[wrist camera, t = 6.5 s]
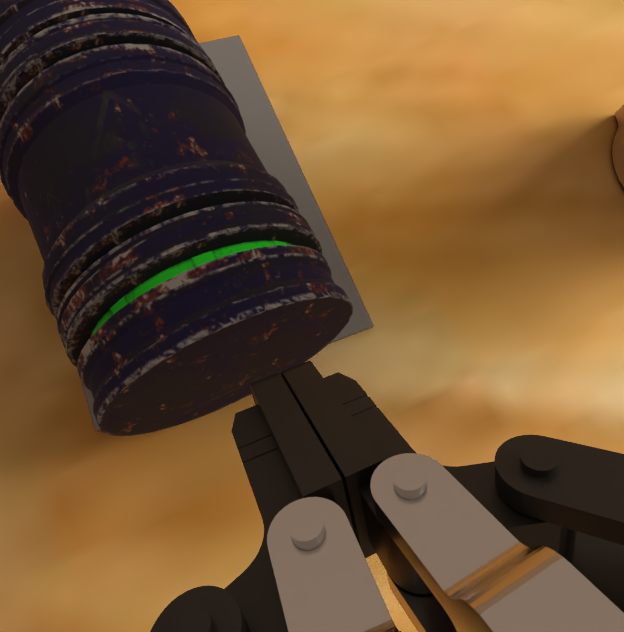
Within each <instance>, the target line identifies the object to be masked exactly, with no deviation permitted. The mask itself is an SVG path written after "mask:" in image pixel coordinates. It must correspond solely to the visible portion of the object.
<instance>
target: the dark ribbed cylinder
mask: <svg viewBox="0 0 624 632" xmlns="http://www.w3.org/2000/svg"><path fill="white" fill-rule="evenodd" d="M0 177H1V181H2V183H3V185H4V187H5V189H6V191H7V193H8V195H9V196H10V198H11V199H12V200H13V202H14V204H15V206H16V207H17V209H18V210H19V211H20V212H21V213H22V215H23V216H24V217H25V218H26V219H27V220H28V221H29V223H30V226H31V228H32V231H33V234H34V236H35V239H36V242H37V244H38V247H39V249H40V252H41V255H42V257H43V260H44V262H45V263H44V269H43V275H42V277H43V284H44V289H45V297H46V304H47V306H48V308H49V310H50V311H51V313H52V315H54V316H55V317H56V319H57V327H58V331H59V334H60V336H61V340H62V342H63V345H64V347H65V349H66V353H67V356H68V357H69V359H70V361H71V362H72V364H74V365H75V366H76V367H78V373H79V376H80V378H81V381H82V382H83V384H84V386H85V387H86V388H87V389H89V390H90V391H91V393H92V395H93V398H94V401H93V413H94V415H95V418H96V421H97V423H98V426H99V428H100V429H101V431H102V432H104V433H106V434H108V435H114V436H131V435H139V434H145V433H149V432H154V431H158V430H162V429H166V428H169V427H173V426H176V425H179V424H182V423H185V422H188V421H191V420H193V419H196V418H199V417H201V416H204V415H206V414H209V413H211V412H214V411H216V410H218V409H221V408H223V407H225V406H227V405H230V404H232V403H234V402H236V401H238V400H240V399H242V398H244V397H246V396H248V395H250V394H252V392H251V389H250V384H251V383H254V382H256V381H259V380H261V379H264V378H267V377H269V376H272V375H274V374H277V373H280V375H281V372H282V371H284V370H287V369H289V368H292V367H295V366H297V365H300V364H302V363H304V362H306V361H307V360H308V359H310V358H311V357H313V356H314V355H315V354H317V353H318V352H319V351H320V350H322V349H323V348H324V347H325V346H327V345H328V344H329V343H330V342H331V341H332V340H333V339H334V338H335V337H336V336H337V335H338V334H339V333H340V332H341V331H342V330H343V329H344V327H345V326H346V325H347V323H348V322H349V320H350V318H351V316H352V314H353V306H352V303H351V301H350V300H349V298H348V296H347V295H346V293H345V291H344V290H343V289H342V288H340V287H339V286H338V285H336V284H335V283H334V281H333V279H332V278H331V269H330V266H329V264H328V262H327V261H326V259H325V257H324V256H323V255H322V248H321V245H320V243H319V241H318V239H317V238H316V236H315V234H314V232H313V231H312V229H311V227H310V226H309V224H308V222H307V221H306V219H305V218H304V217H303V216H302V215H301V214H300V213H299V211H298V207H297V205H296V203H295V201H294V199H293V198H292V197H291V196H290V195H289V194H288V192H287V191H286V189H285V187H284V186H283V185H282V184H281V183H280V182H279V180H278V179H277V178H275V177H274V176H272V175H270V174H269V173H268V172H267V171H266V169H265V167H264V166H263V164H262V162H261V160H260V159H259V157H258V155H257V154H256V152H255V150H254V148H253V147H252V145H251V143H250V142H249V140H248V138H247V136H246V130H245V126H244V122H243V118H242V116H241V114H240V111H239V107H238V105H237V103H236V101H235V99H234V97H233V95H232V93H231V92H230V91H229V90H228V89H227V87H226V86H225V84H224V82H223V80H222V78H221V76H220V74H219V73H218V71H217V69H216V67H215V66H214V64H213V62H212V60H211V59H210V58H209V56H208V55H207V54H206V52H205V51H204V50H203V49H202V47H201V46H200V45H199V43H198V42H197V41H196V39H195V37H194V36H193V34H192V32H191V30H190V28H189V26H188V25H187V23H186V21H185V20H184V18H183V17H182V16H181V14H180V13H179V12H178V10H177V9H176V8H175V7H174V5H173V4H171V3H170V2H169V1H168V0H0Z"/></svg>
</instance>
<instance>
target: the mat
mask: <svg viewBox="0 0 624 632" xmlns="http://www.w3.org/2000/svg"><path fill="white" fill-rule="evenodd" d="M199 45H200V46H201V47H202V49H203V50H204V51H205V52H206V54H207V55H208V56H209V58H210V59H211V60H212V62H213V64H214V66H215V67H216V69H217V71H218V73H219V74H220V76H221V78H222V80H223V82H224V84H225V86H226V87H227V89H228V90H229V91H230V92H231V93H232V95H233V97H234V99H235V101H236V103H237V105H238V107H239V111H240V114H241V116H242V118H243V122H244V126H245V130H246V136H247V138H248V140H249V142H250V143H251V145H252V147H253V148H254V150H255V152H256V154H257V155H258V157H259V159H260V160H261V162H262V164H263V166H264V167H265V169H266V171H267V172H268V173H269V174H270V175H272V176H274V177H275V178H277V179H278V180H279V182H280V183H281V184H282V185H283V186H284V187H285V189H286V191H287V192H288V194H289V195H290V196H291V197H292V198H293V199H294V201H295V203H296V205H297V207H298V211H299V213H300V214H301V215H302V216H303V217H304V218H305V219H306V221H307V222H308V224H309V226H310V227H311V229H312V231H313V232H314V234H315V236H316V238H317V239H318V241H319V243H320V245H321V248H322V255H323V256H324V257H325V259H326V261H327V262H328V264H329V266H330V269H331V278H332V279H333V281H334V283H335V284H336V285H338V286H339V287H340V288H342V289H343V290H344V291H345V293H346V295H347V296H348V298H349V300H350V301H351V303H352V306H353V314H352V316H351V318H350V320H349V322H348V323H347V325H346V326H345V327H344V329H343V330H342V331H341V332H340V333H339V334H338V335H337V336H336V337H335V338H334V339H333V340H332V341H331V342H330V343H332V342H335V341H337V340H340V339H343V338H345V337H348V336H350V335H353V334H356V333H358V332H361V331H364V330H366V329H369V328H372V327H373V326H374V325H373V323H372V321H371V319H370V317H369V314H368V312H367V310H366V308H365V306H364V304H363V302H362V299H361V297H360V295H359V293H358V291H357V289H356V286H355V284H354V282H353V280H352V278H351V276H350V273H349V271H348V269H347V267H346V265H345V263H344V261H343V258H342V256H341V254H340V252H339V250H338V248H337V245H336V243H335V241H334V239H333V237H332V235H331V233H330V230H329V228H328V226H327V224H326V222H325V220H324V217H323V215H322V213H321V211H320V209H319V207H318V204H317V202H316V200H315V198H314V196H313V194H312V192H311V189H310V187H309V185H308V183H307V181H306V179H305V176H304V174H303V172H302V170H301V168H300V166H299V164H298V161H297V159H296V157H295V155H294V153H293V151H292V148H291V146H290V144H289V142H288V140H287V138H286V135H285V133H284V131H283V129H282V127H281V125H280V123H279V120H278V118H277V116H276V114H275V112H274V110H273V107H272V105H271V103H270V101H269V99H268V97H267V95H266V92H265V90H264V88H263V86H262V84H261V82H260V79H259V77H258V75H257V73H256V71H255V69H254V66H253V64H252V62H251V60H250V58H249V56H248V54H247V51H246V49H245V47H244V45H243V43H242V41H241V38H240V36H239V35H238V36H233V37H228V38H223V39H218V40H214V41H209V42H204V43H199ZM77 368H78V367H77ZM81 382H82V381H81ZM82 385H83V389H84V392H85V396H86V399H87V403H88V406H89V410H90V413H91V417H92V420H93V424H94V427H95V431H100V430H101V429H100V428H99V426H98V423H97V421H96V418H95V415H94V413H93V401H94V398H93V395H92V393H91V391H90V390H89V389H87V388H86V387H85V386H84V384H83V382H82Z"/></svg>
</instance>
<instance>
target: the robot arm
mask: <svg viewBox="0 0 624 632" xmlns="http://www.w3.org/2000/svg"><path fill="white" fill-rule="evenodd" d="M615 116H616V119H617V121H618V130H617V133H616V135H615V138H614V140H613V148H612V156H613V164H614V168H615V170H616V173H617V176H618V178H619V180H620V182H621V184H622V185H623V187H624V105H623V106H622V107H621V108H620V109H619V110H618V111H617V112H616V113H615ZM250 389H251V392H252V395H253V398H254V401H255V404H256V406H253V407H251V408H248V409H246V410H243V411H241V412H238V413H236V414H235V419H234V423H233V428H232V433H233V436H234V439H235V442H236V445H237V448H238V450H239V453H240V456H241V459H242V462H243V465H244V468H245V470H246V473H247V476H248V479H249V482H250V485H251V487H252V490H253V493H254V496H255V499H256V502H257V504H258V507H259V510H260V513H261V516H262V519H263V523H264V538H263V542H262V546H261V548H260V550H259V553H258V554H257V556H256V558H255V559H254V561H253V562H252V563H251V565H250V566H249V567H248V568H247V569H246V570H245V571H244V572H243V573H242V574H241V575H240V576H239V577H237V578H236V579H235V580H234V581H233V582H232V583H231V584H230V585H228V586H227V587H226V588H225V589H222V588H219V587H216V586H201V587H197V588H193V589H191V590H189V591H186V592H185V593H183V594H181V595H180V596H178V597H177V598H176V599H174V600H173V601H172V602H171V603H170V604H169V605H168V606H167V607H166V608H165V609H164V610H163V612H162V613H161V614H160V616H159V617H158V619H157V620H156V622H155V624H154V626H153V628H152V629H151V631H150V632H401V631H398V629H397V628H396V626H395V624H394V622H393V620H392V618H391V616H390V614H389V611H388V609H387V607H386V604H385V602H384V600H383V598H382V595H381V593H380V591H379V589H378V586H377V584H376V582H375V579H374V577H373V575H372V573H371V570H370V568H369V566H368V564H367V561H366V559H365V558H367V557H369V556H371V555H373V554H375V553H377V555H378V557H379V558H380V560H381V562H382V564H383V565H384V567H385V569H386V572H387V577H388V583H389V586H390V589H391V590H392V592H393V594H394V596H395V597H396V599H397V600H398V602H399V603H400V605H401V606H402V608H403V609H404V611H405V612H406V614H407V615H408V617H409V618H410V620H411V622H412V623H413V625H414V626H415V628H416V629H417V631H418V632H624V454H620V453H616V452H612V451H607V450H603V449H598V448H594V447H589V446H585V445H580V444H576V443H572V442H567V441H563V440H558V439H554V438H549V437H545V436H539V435H522V436H517V437H514V438H511V439H509V440H507V441H506V442H504V443H503V444H502V445H501V446H500V447H499V448H498V450H497V452H496V455H495V462H488V463H482V464H475V465H468V466H459V467H449V466H442V465H441V464H440V463H439V462H437V461H436V460H434V459H432V458H430V457H428V456H425V455H421V454H417V453H416V452H415V451H414V450H413V449H412V448H411V447H410V446H409V444H408V443H407V442H406V441H405V440H404V438H403V437H402V436H401V435H400V434H399V432H398V431H397V430H396V429H395V428H394V426H393V425H392V424H391V423H390V422H389V420H388V419H387V418H386V417H385V416H384V414H383V413H382V412H381V411H380V409H379V408H377V407H376V405H375V403H374V402H373V401H372V400H371V399H370V397H368V396H367V394H366V393H365V391H364V390H363V389H362V388H361V387H360V385H359V384H358V383H357V382H356V381H355V380H353V379H351V378H349V377H347V376H345V375H343V374H340V373H335V374H333V375H330V376H328V377H325V378H323V377H322V376H321V374H320V373H319V372H318V370H317V369H316V368H315V366H314V365H313V363H312V362H311V361H307V362H305V363H302V364H300V365H297V366H295V367H292V368H289V369H287V370H284V371H282V372H281V375H280V373H277V374H274V375H272V376H269V377H267V378H264V379H261V380H259V381H256V382H254V383H251V384H250Z"/></svg>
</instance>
